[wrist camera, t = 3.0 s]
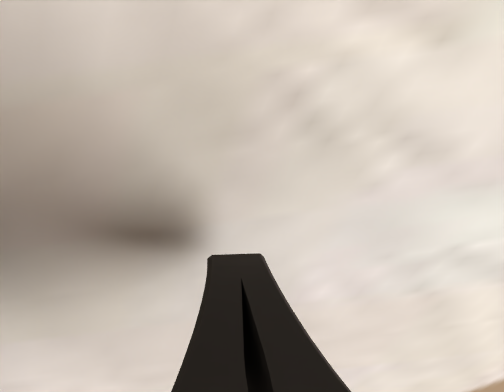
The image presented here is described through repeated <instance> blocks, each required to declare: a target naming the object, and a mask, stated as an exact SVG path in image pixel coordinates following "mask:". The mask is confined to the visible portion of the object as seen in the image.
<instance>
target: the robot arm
mask: <svg viewBox="0 0 504 392" xmlns="http://www.w3.org/2000/svg"><path fill="white" fill-rule="evenodd" d="M171 392H351V391H350V390H349V388H348V387H347V386H346V385H345V384H344V382H343V381H342V380H341V379H340V377H339V376H338V375H337V373H336V372H335V371H334V370H333V368H332V367H331V366H330V364H329V363H328V362H327V360H326V359H325V357H324V356H323V355H322V353H321V352H320V351H319V349H318V348H317V346H316V345H315V344H314V342H313V341H312V339H311V338H310V336H309V335H308V333H307V332H306V330H305V329H304V327H303V326H302V324H301V323H300V321H299V319H298V318H297V316H296V315H295V313H294V312H293V310H292V309H291V307H290V305H289V304H288V302H287V300H286V299H285V297H284V295H283V293H282V292H281V290H280V288H279V286H278V285H277V283H276V281H275V279H274V277H273V275H272V273H271V271H270V269H269V267H268V265H267V263H266V261H265V258H264V257H263V256H262V255H261V254H229V255H212V256H210V257H209V258H208V259H207V278H206V284H205V289H204V294H203V298H202V303H201V306H200V310H199V314H198V317H197V321H196V324H195V328H194V331H193V334H192V337H191V340H190V343H189V346H188V349H187V351H186V354H185V357H184V360H183V363H182V366H181V368H180V371H179V374H178V376H177V379H176V381H175V384H174V386H173V389H172V391H171Z"/></svg>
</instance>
